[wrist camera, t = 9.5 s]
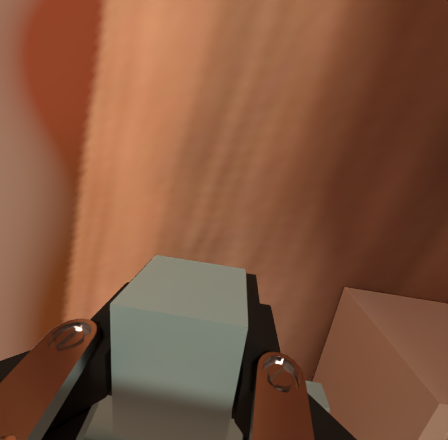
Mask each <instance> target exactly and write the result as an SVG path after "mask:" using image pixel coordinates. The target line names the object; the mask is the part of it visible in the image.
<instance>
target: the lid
mask: <svg viewBox="0 0 448 440" xmlns="http://www.w3.org/2000/svg"><path fill="white" fill-rule="evenodd" d="M110 329H111V375H112V396H110V395H107V397H106V398H104V399H102V400H101V401H99V404H98V408H97V410H96V412H95V414H94V416H93V419H92V421H91V423H90V425H89V427H88V430H87V432H86V434H85V436H84V438H83V440H241V438H242V432H241V431H240V429H239V428H238V426H237V425H236V424H235V422H234V419H231V414H232V407H233V402H234V397H235V392H236V387H237V382H238V377H239V372H240V367H241V361H242V356H243V351H244V346H245V341H246V336H247V331H248V310H247V287H246V269H242V268H236V267H230V266H223V265H217V264H211V263H204V262H198V261H192V260H185V259H179V258H173V257H166V256H160V255H156V256H155V257H154V258H153V259H152V260H151V261H150V262H149V263H148V264H147V265H146V266H145V267H144V268H143V269H142V270H141V271H140V273H139V274H138V275H137V276H136V277H135V278H134V279H133V280H132V281H131V282H130V283H129V284H128V285H127V286H126V287H125V288H124V289H123V291H122V292H121V293H120V294H119V295H118V296H117V297H116V298H115V299H114V300H113V301H112V302H111V303H110ZM305 381H306V380H305ZM306 387H307V393H308V394H309V395H311V396H312V397H313V398H314V399H315V400H316V401H317V402H318V403H319V404H320V405H321V406H322V407H323V408H324V409H325V410H326V411H327V412H328V413H329V412H330V409H331V408H330V406H329V403H328V400H327V398H326V395H325V392H324V389H323V387H322V384H321V383H317V382H311V381H306Z"/></svg>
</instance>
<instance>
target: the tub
mask: <svg viewBox="0 0 448 440" xmlns="http://www.w3.org/2000/svg"><path fill="white" fill-rule="evenodd" d="M312 382H317V383H321V384H322V387H323V389H324V392H325V395H326V398H327V400H328V403H329V406H330V408H331V409H330V412H329V414H331V415H332V416H333V417H334V418H335V419H336V420H337V421H338V422H339V423H340V424H341V425H342V426H343V427H344V428H345V429H346V430H347V431H348V432H349V433H351V434H352V435H353V436H354V437H355V438H356V439H357V440H448V303H442V302H436V301H429V300H423V299H417V298H411V297H404V296H398V295H392V294H386V293H379V292H373V291H367V290H361V289H354V288H348V287H344V289H343V292H342V295H341V298H340V301H339V304H338V307H337V310H336V313H335V316H334V319H333V322H332V325H331V328H330V331H329V334H328V337H327V340H326V343H325V346H324V348H323V351H322V354H321V357H320V360H319V363H318V366H317V369H316V372H315V375H314V378H313V381H312Z"/></svg>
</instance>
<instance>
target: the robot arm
mask: <svg viewBox="0 0 448 440" xmlns="http://www.w3.org/2000/svg"><path fill="white" fill-rule="evenodd" d="M151 260H152V259H151ZM151 260H150V261H151ZM150 261H149V262H150ZM149 262H148V263H149ZM139 273H140V272H139ZM139 273H138V274H139ZM138 274H137V275H138ZM137 275H136V276H137ZM136 276H135V277H136ZM135 277H134V278H135ZM134 278H133V279H134ZM133 279H132V280H133ZM132 280H131V281H132ZM131 281H130V282H131ZM130 282H127V283H126V284H125V285H124V286H123V287H122V288H121V289H120V290H119V291H118V292H117V293H116V294H115V295H114V296H113V297H112V298H111V299H110V300H109V301H108V302H107V303H106V304H105V305H104V306H103V307H102V308H101V309H100V310H99V311H98V312H97V313H96V314H95V315H94V316H93V318H92V319H91V320H89V319H74V320H70V321H67V322H64V323H62V324H60V325H58V326H56V327H54V328H53V329H52V330H51V331H49V332H48V333H47V334H46V335H45V336H44V337H43V338H42V339H41V340H40V341H39V342H38V343H37V345H36V346H35V347H34V348H33V349H32V350H30V351H27V352H24V353H21V354H19V355H16V356H13V357H10V358H7V359H5V360H2V361H0V440H83V438H84V436H85V434H86V432H87V430H88V427H89V425H90V423H91V421H92V419H93V416H94V414H95V412H96V410H97V408H98V404H99V401H101V400H102V399H104V398H106V397H107V395H110V396H112V375H111V329H110V303H111V302H112V301H113V300H114V299H115V298H116V297H117V296H118V295H119V294H120V293H121V292H122V291H123V289H124V288H125V287H126V286H127V285H128V284H129V283H130ZM246 287H247V310H248V331H247V336H246V341H245V346H244V351H243V356H242V361H241V367H240V372H239V377H238V382H237V387H236V392H235V397H234V402H233V407H232V414H231V419H234V422H235V424H236V425H237V426H238V428H239V429H240V431H241V432H242V438H241V440H357V439H356V438H355V437H354V436H353V435H352V434H351V433H349V432H348V431H347V430H346V429H345V428H344V427H343V426H342V425H341V424H340V423H339V422H338V421H337V420H336V419H335V418H334V417H333V416H332V415H331V414H329V413H328V412H327V411H326V410H325V409H324V408H323V407H322V406H321V405H320V404H319V403H318V402H317V401H316V400H315V399H314V398H313V397H312V396H311V395H309V394H308V393H307V387H306V381H305V377H304V374H303V372H302V370H301V369H300V367H299V366H298V365H297V363H296V362H295V361H294V360H292V359H291V358H290V357H288V356H287V355H284V354H282V353H280V348H279V343H278V338H277V334H276V329H275V324H274V319H273V314H272V310H271V306H270V305H265V304H260V303H259V295H258V287H257V280H256V275H253V274H247V273H246Z"/></svg>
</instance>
